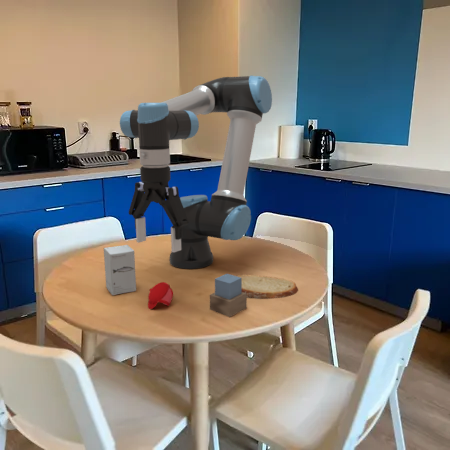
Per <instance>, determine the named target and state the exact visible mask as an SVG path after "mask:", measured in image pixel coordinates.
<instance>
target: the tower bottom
mask: <svg viewBox="0 0 450 450" xmlns="http://www.w3.org/2000/svg"><path fill="white" fill-rule="evenodd" d="M247 299H248V298H247V293H244V292H241V294H240V295H238V296H236V297H234V298H232V299H230V300H229V299H226V298H223V297H220V296H217V295H215V292H212V293H210V294H209V310H210V311H213V312H215V313H217V314H220V315H223V316H226V317H228V318H231V317H233V316H235V315H236V314H238V313H240V312H242V311H244V310H246V309H247V305H248V303H247Z"/></svg>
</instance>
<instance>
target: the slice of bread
mask: <svg viewBox="0 0 450 450" xmlns="http://www.w3.org/2000/svg"><path fill="white" fill-rule="evenodd" d="M236 276H237V277H240V278H242V289H241V292H244V293H247V299H255V300H258V299H259V300H261V299H280V298H281V299H282V298H288V297H289V296H290V297H291V296H293V295H295V294H297V293H298V292H299V288H298V286H297V284H296V283H295V282H294V281H292V280H290V279H285V278H280V277H275V276H265V275H253V274H243V273H241V274H238V275H236Z"/></svg>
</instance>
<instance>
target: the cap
mask: <svg viewBox="0 0 450 450" xmlns="http://www.w3.org/2000/svg"><path fill="white" fill-rule="evenodd" d="M173 297H174V291H173V289H172V288H171V285H170V284H169V283H167V282H164V281H161V282H158V283H156V284H155V285H154V286H152V288H150V289H149V293H148V298H147V299H148V302H147V308H148V309H149V310H152V309H154V308H155V307H156V306H157V304H158V303H162V304H163V305H166V307H169V306H170V305H171V302H172V300H173Z"/></svg>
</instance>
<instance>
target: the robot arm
mask: <svg viewBox="0 0 450 450" xmlns="http://www.w3.org/2000/svg"><path fill="white" fill-rule="evenodd" d="M272 102H273V95H272V89H271V86H270V84H269V81H268V79H266V77H263V76H261V75H247V76H246V75H245V76H243V75H241V76H223V77H222V76H221V77H218V78H215V79H211V80H210V81H207V82H206V81H205V82H204V83H202V84H199V85H196V86H195V87H193V88H192V90H191V91H189V92H187V93H183V94H181V95H177V96H175V97H172V98H170V99H167V100H164V101H162V102H141V103H139V104H138V106H137V110H136V109H131V110H126V111H124V112H123V113H122V114H121V116H120V119H119V127H120V130H121V132H122V134H123V135H124V136H126V137H128V138H134V139H138V143H139V146H138V149H139V163H140V165H141V167H140V168H139V169H140V170H139V172H140V173H139V174H140V181H139V182H135V183H134V191H133V196H132V199H131V203H130V206H129V210H128V214H129V216H132V217H133V219H134V228H135V233H136V235H135V236H136V243H137V244H138V243H143V242H145V241H146V242H147V234H146V233H147V230H146V227H147V226H146V217H145V216H146V215H145V213H146V211H147V210H148V208H149V207H150V204H151V203H152V202H154V203H156V204H159V205H160V206H161V207H162V208H163V210H164V212H165V214H166V215H167V218H168V219H169V221H170V223H171V225H172V226H171V227H170V237H171V238H170V239H171V240H170V242H171V244H170V245H171V251H170V254H169V264H170V265H171V266H172V267H175V268H179V269H187V270H188V269H189V270H190V269H192V270H193V269H195V270H196V269H200V268H201V269H202V268H205V267H208V266H210V265H212V264H213V262H214V254H213V252H212V249H211V245H210V243H209V239H208V238H209V237H210V238H215V239H220V240H224V241H238V240H240V239H242V238H243V237H244V236H245V235H246V233H247V231H248V229H249V227H250V225H251V221H252V215H251V211H252V210H251V208H250V207H249V206H248V205H247V202H248V201H247V199H246V197H244V193H245V189H246V188H245V187H246V183H247V182H246V181H247V176H248V171H249V166H250V160H251V154H252V149H253V144H254V138H255V133H256V128H257V125H258V124H259V123H261V122H262V120H263V115H264V114H267V113H269V112H270V110H271V107H272V105H273V103H272ZM211 113H226V115H227V117H228V119H229V120H230V121H229V125H228V126H229V127H228V132H227V137H226V143H225V149H224V153H223V158H222V162H221V168H220V169H221V170H220V175H219V181H218V184H217V190H216V191H215V192H214V193H212V194H211V198H210V200H208V199H209V198H208V196H207V195H206V194H193V195H188V196H187V195H186V196H181V197H180V195H179V193H180V192H179V191H180V190H179V187H178V186H172V187H170V186H169V181H171V167H170V166H169V165H170V164H171V153H170V152H171V151H170V141H176V140H187V139H191V138H193V137H195V136H196V135H197V133H198V132H199V127H200V126H199V125H200V123H199V118H198V117H197V116H198V115H208V114H211Z"/></svg>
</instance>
